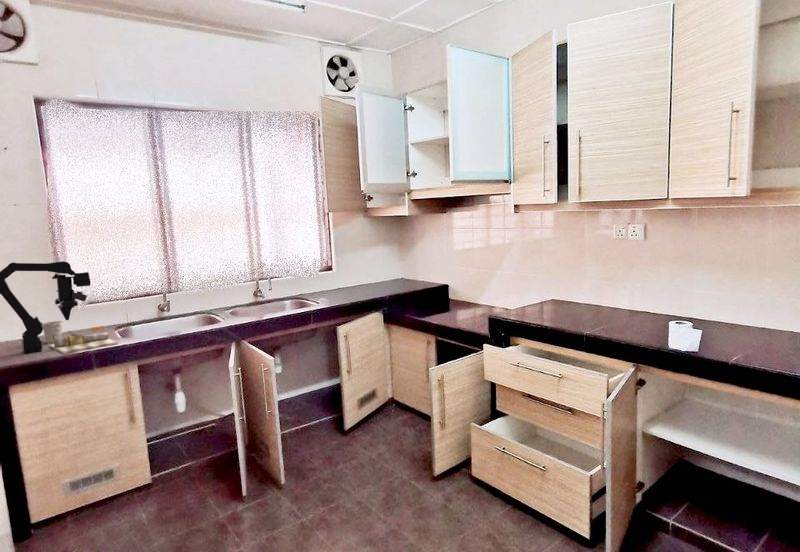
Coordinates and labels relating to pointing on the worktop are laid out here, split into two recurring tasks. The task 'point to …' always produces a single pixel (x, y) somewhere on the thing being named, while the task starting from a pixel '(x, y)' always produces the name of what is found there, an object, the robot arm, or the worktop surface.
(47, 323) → the mug
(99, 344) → the valve board
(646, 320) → the worktop surface
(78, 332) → the valve lever
